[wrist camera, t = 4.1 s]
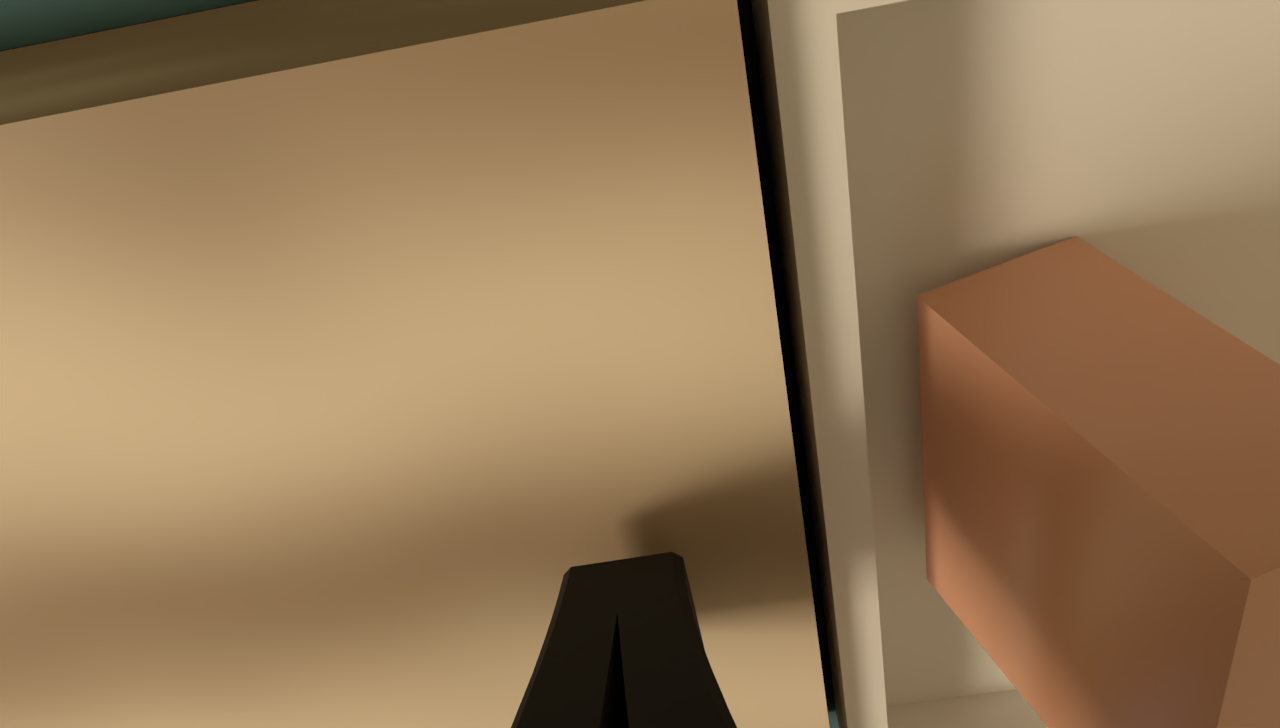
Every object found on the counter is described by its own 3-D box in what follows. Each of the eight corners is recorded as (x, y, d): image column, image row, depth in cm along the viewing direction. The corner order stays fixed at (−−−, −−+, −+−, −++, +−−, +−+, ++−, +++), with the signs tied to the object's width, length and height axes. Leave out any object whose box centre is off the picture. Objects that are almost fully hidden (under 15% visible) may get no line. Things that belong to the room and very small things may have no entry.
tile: (926, 579, 15) (1056, 523, 16) (1180, 888, 12) (1343, 804, 12) (916, 295, 13) (1075, 235, 13) (1250, 579, 9) (1466, 482, 9)
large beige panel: (819, 716, 19) (845, 848, 17) (216, 796, 20) (172, 930, 18) (710, -90, 11) (734, -17, 9) (-300, 111, 12) (-483, 217, 10)
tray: (1427, 635, 18) (1507, 737, 17) (836, 714, 19) (857, 817, 18) (1806, -309, 10) (2035, -288, 8) (739, -97, 11) (762, -42, 9)
